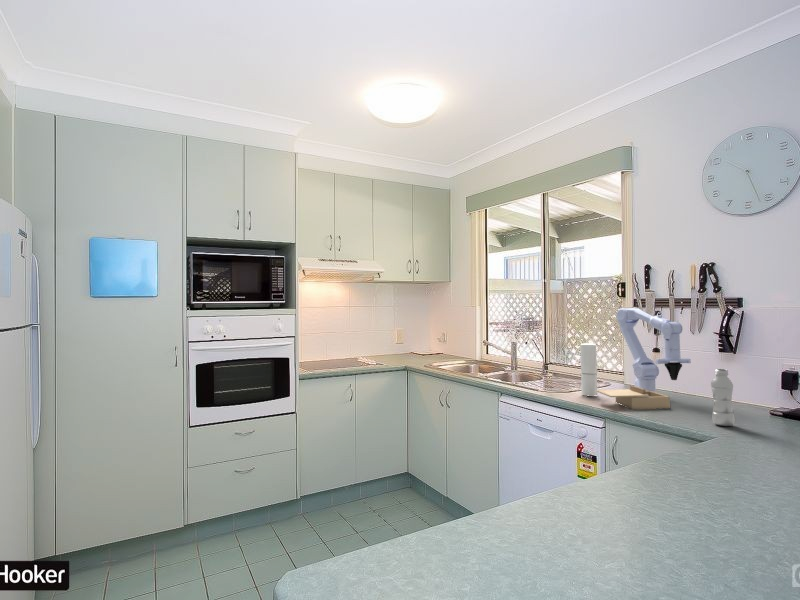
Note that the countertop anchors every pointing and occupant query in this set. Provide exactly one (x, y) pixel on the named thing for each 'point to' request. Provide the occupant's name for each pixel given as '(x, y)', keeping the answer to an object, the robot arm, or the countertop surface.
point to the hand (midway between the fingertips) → (673, 379)
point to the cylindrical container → (588, 369)
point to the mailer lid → (625, 392)
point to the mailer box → (645, 401)
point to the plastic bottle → (722, 399)
